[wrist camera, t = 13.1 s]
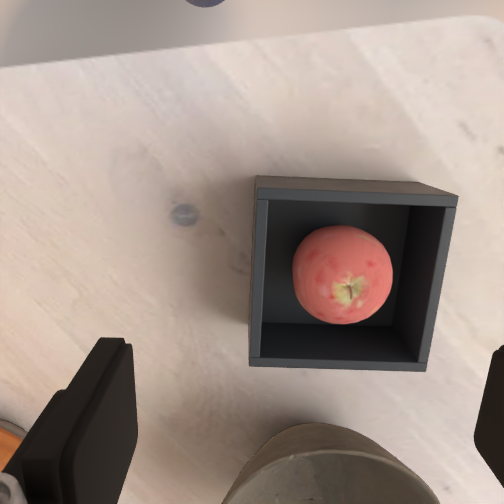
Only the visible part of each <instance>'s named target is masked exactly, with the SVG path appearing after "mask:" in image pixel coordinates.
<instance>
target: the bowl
mask: <svg viewBox="0 0 504 504" xmlns="http://www.w3.org/2000/svg"><path fill="white" fill-rule="evenodd" d="M222 504H440V502H439V500H438V498H437V497H436V495H435V494H434V493H433V491H432V490H431V489H430V487H429V486H428V485H427V484H426V483H425V482H424V481H423V480H422V479H421V478H420V477H419V476H418V475H417V474H415V473H414V472H413V471H412V470H411V469H409V468H408V467H407V466H406V465H404V464H403V463H402V462H401V461H399V460H398V459H397V458H396V457H394V456H393V455H392V454H390V453H389V452H388V451H387V450H385V449H384V448H382V447H381V446H380V445H379V444H377V443H376V442H374V441H373V440H371V439H369V438H367V437H366V436H364V435H362V434H360V433H358V432H355V431H353V430H351V429H348V428H344V427H340V426H336V425H331V424H325V423H306V424H300V425H295V426H292V427H289V428H287V429H285V430H283V431H282V432H280V433H278V434H277V435H275V436H274V437H272V438H271V439H270V440H269V441H268V442H266V443H265V444H264V445H263V446H262V447H261V448H260V449H259V451H258V452H257V453H256V454H255V455H254V456H253V457H252V458H251V459H250V460H249V461H248V462H247V464H246V465H245V466H244V468H243V469H242V471H241V472H240V474H239V476H238V477H237V479H236V481H235V482H234V484H233V486H232V487H231V489H230V490H229V492H228V493H227V495H226V497H225V498H224V500H223V502H222Z"/></svg>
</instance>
